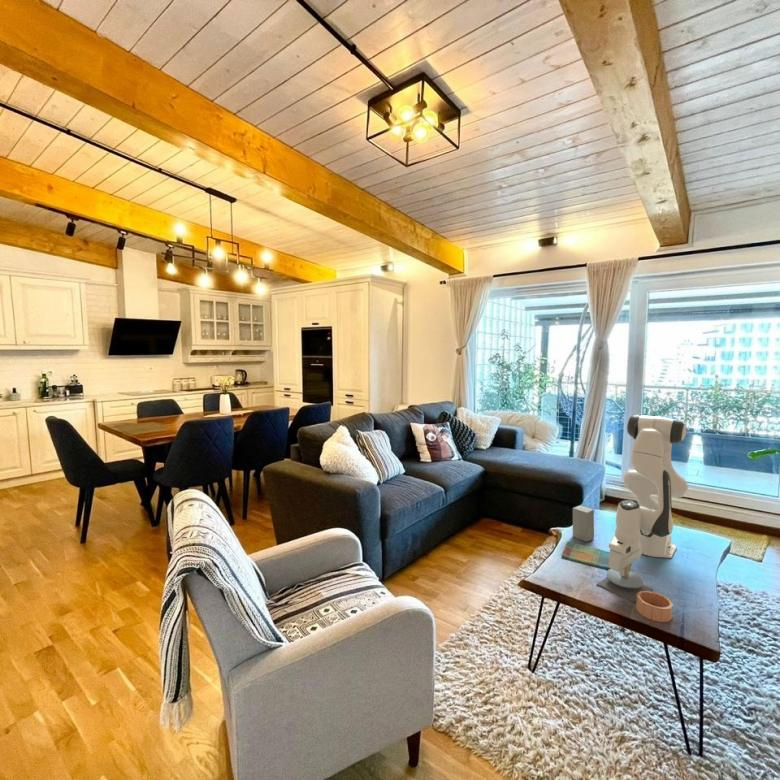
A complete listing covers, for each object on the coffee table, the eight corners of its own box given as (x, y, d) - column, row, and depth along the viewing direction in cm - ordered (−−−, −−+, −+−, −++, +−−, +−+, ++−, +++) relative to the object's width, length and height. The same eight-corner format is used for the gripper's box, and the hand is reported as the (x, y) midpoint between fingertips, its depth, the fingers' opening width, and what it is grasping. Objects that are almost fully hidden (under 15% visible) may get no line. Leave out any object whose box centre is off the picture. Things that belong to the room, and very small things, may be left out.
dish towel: (618, 574, 181) (618, 568, 181) (560, 559, 193) (561, 554, 193) (620, 557, 196) (620, 552, 195) (566, 544, 208) (567, 539, 207)
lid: (616, 567, 179) (616, 556, 179) (648, 581, 169) (649, 569, 168) (600, 577, 172) (601, 565, 171) (633, 592, 161) (634, 580, 161)
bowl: (644, 599, 161) (645, 587, 161) (676, 614, 153) (677, 601, 152) (630, 610, 155) (631, 597, 155) (663, 625, 146) (664, 612, 146)
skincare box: (594, 539, 213) (595, 509, 211) (586, 543, 209) (587, 512, 207) (578, 533, 220) (580, 504, 218) (570, 536, 216) (572, 507, 214)
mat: (614, 573, 180) (614, 572, 180) (652, 589, 168) (652, 588, 168) (596, 584, 171) (596, 583, 171) (635, 603, 159) (635, 601, 159)
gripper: (631, 531, 177) (628, 562, 178) (606, 545, 165) (604, 578, 167) (647, 537, 172) (644, 568, 173) (622, 551, 160) (620, 585, 162)
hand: (624, 573), depth 170 cm, fingers closed on lid, 3 cm apart
